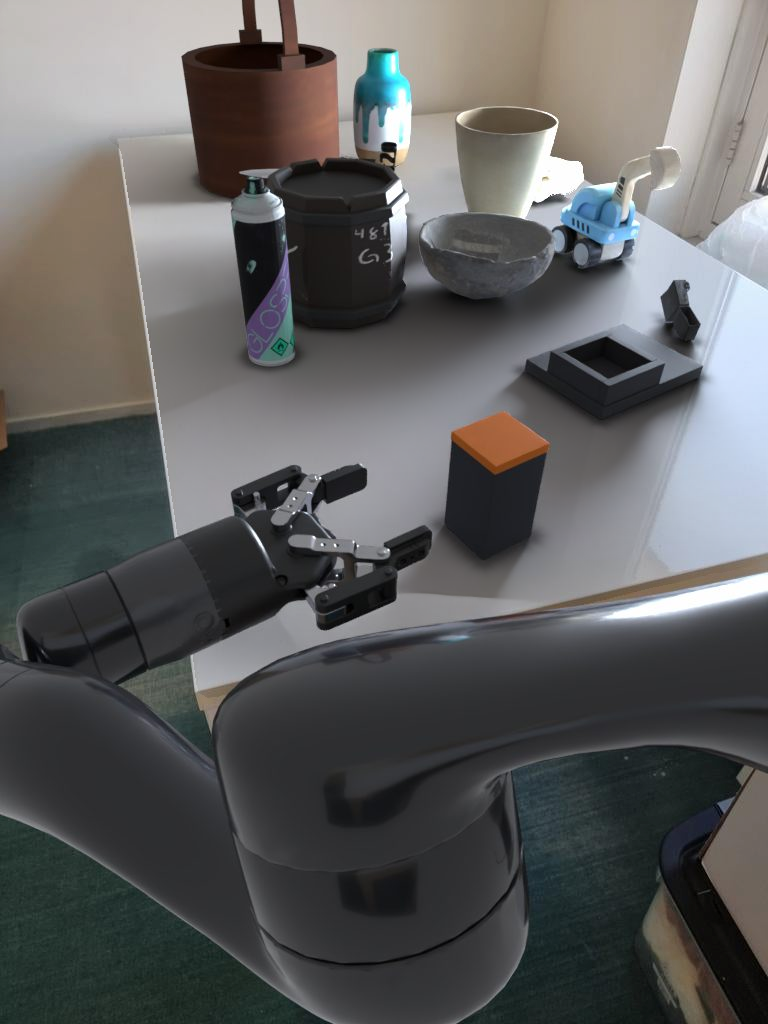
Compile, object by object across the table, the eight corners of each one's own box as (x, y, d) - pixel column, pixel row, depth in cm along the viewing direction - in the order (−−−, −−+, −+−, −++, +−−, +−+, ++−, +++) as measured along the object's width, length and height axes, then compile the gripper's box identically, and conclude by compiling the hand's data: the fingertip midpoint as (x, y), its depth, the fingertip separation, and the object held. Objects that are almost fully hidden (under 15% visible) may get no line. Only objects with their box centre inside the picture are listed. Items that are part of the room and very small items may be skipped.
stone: (497, 167, 141) (500, 139, 138) (558, 166, 142) (562, 138, 139) (522, 205, 126) (526, 175, 123) (590, 204, 127) (596, 173, 123)
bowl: (548, 267, 107) (557, 211, 101) (547, 324, 94) (557, 262, 88) (424, 257, 109) (427, 202, 104) (407, 311, 96) (409, 251, 91)
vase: (367, 179, 135) (367, 58, 123) (345, 162, 143) (342, 47, 130) (419, 172, 139) (423, 54, 126) (394, 156, 146) (397, 43, 133)
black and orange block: (531, 536, 64) (550, 443, 58) (482, 561, 62) (496, 467, 55) (491, 501, 68) (503, 410, 61) (443, 523, 65) (451, 431, 59)
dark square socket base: (699, 377, 84) (710, 345, 82) (601, 420, 78) (609, 387, 75) (621, 334, 92) (628, 304, 89) (524, 370, 85) (529, 339, 83)
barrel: (303, 264, 107) (296, 147, 96) (421, 284, 102) (426, 163, 92) (242, 317, 94) (226, 189, 84) (373, 343, 89) (373, 211, 79)
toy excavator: (617, 291, 101) (648, 157, 90) (543, 248, 112) (562, 124, 101) (664, 279, 104) (700, 148, 93) (587, 238, 115) (610, 117, 104)
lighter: (687, 351, 94) (707, 330, 89) (672, 352, 93) (691, 331, 88) (674, 295, 96) (693, 272, 91) (659, 296, 96) (678, 273, 91)
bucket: (217, 208, 123) (181, -56, 100) (185, 163, 141) (149, -69, 118) (360, 189, 131) (358, -60, 108) (313, 149, 149) (302, -72, 126)
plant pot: (469, 206, 125) (478, 101, 115) (554, 222, 120) (571, 114, 110) (432, 235, 115) (438, 123, 105) (522, 254, 110) (538, 138, 100)
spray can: (255, 370, 85) (233, 188, 71) (243, 348, 88) (221, 171, 75) (301, 361, 86) (288, 182, 73) (288, 340, 90) (273, 166, 77)
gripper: (164, 566, 56) (347, 491, 63) (246, 701, 47) (449, 597, 54) (143, 489, 51) (345, 418, 58) (232, 625, 42) (457, 521, 49)
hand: (395, 504), depth 56 cm, fingers open, 8 cm apart
